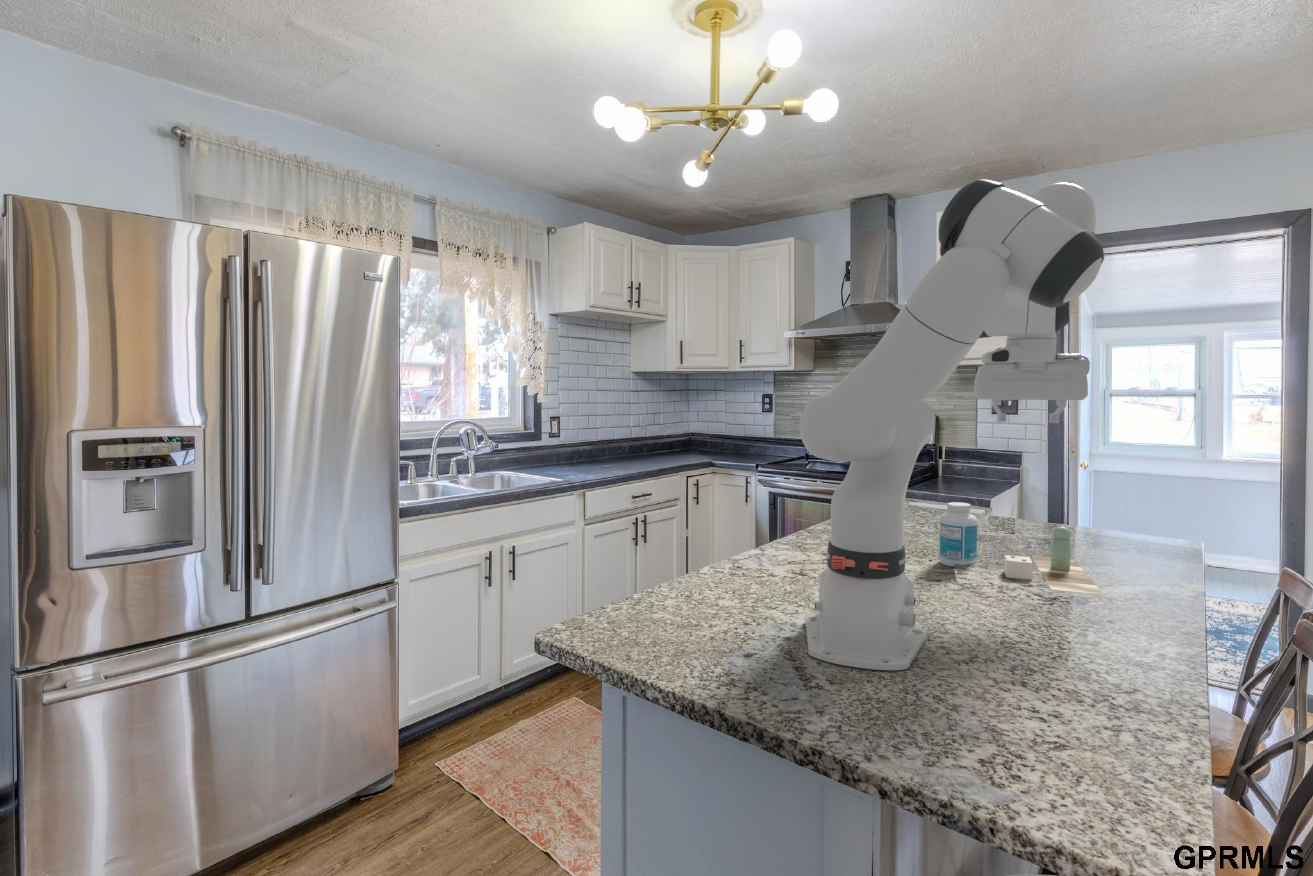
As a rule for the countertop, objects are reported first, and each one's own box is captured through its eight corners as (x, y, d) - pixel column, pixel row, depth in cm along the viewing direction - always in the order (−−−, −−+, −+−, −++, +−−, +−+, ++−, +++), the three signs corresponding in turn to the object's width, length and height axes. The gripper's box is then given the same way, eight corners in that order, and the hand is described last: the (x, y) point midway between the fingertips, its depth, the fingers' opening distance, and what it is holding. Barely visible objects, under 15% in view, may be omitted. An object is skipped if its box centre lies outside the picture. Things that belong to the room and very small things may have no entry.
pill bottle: (968, 560, 148) (970, 500, 147) (981, 569, 141) (984, 507, 140) (934, 559, 149) (936, 500, 148) (945, 568, 142) (947, 506, 140)
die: (1031, 585, 130) (1032, 562, 130) (1006, 582, 132) (1007, 560, 132) (1028, 578, 135) (1029, 556, 134) (1003, 576, 136) (1004, 554, 136)
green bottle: (1071, 572, 135) (1073, 528, 134) (1052, 570, 136) (1054, 527, 136) (1068, 567, 138) (1070, 525, 138) (1049, 566, 140) (1051, 524, 139)
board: (1105, 600, 121) (1105, 595, 121) (1049, 594, 124) (1049, 589, 124) (1075, 563, 145) (1075, 559, 145) (1028, 559, 148) (1028, 555, 148)
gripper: (1086, 354, 133) (1082, 422, 134) (974, 355, 140) (971, 420, 141) (1094, 352, 127) (1090, 424, 128) (977, 354, 134) (974, 422, 135)
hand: (1027, 422), depth 135 cm, fingers open, 8 cm apart
